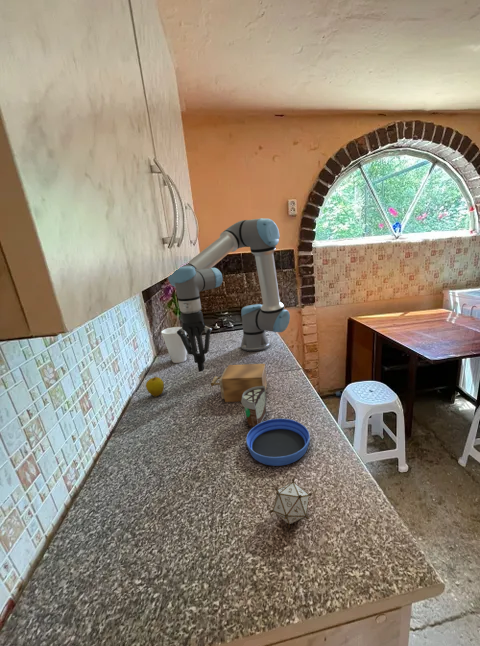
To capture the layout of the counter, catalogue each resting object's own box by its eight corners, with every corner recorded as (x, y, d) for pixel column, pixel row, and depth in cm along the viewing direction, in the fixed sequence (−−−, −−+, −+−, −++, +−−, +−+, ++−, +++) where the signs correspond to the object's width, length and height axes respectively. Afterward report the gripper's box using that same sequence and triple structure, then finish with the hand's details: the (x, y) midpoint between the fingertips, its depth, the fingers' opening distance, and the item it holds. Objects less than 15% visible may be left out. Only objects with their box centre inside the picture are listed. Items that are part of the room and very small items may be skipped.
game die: (301, 531, 67) (323, 520, 61) (264, 532, 64) (283, 520, 57) (297, 488, 73) (316, 474, 66) (263, 487, 70) (280, 471, 63)
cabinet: (224, 402, 115) (221, 378, 112) (231, 386, 127) (228, 365, 123) (263, 400, 114) (262, 377, 111) (266, 385, 126) (265, 363, 123)
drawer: (210, 399, 115) (207, 380, 113) (217, 385, 126) (214, 368, 123) (257, 398, 115) (256, 379, 112) (260, 384, 125) (259, 366, 123)
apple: (165, 389, 127) (161, 372, 124) (166, 396, 121) (162, 378, 118) (148, 393, 124) (144, 375, 122) (148, 400, 119) (144, 381, 116)
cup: (190, 362, 153) (185, 332, 148) (165, 366, 151) (159, 334, 145) (192, 354, 164) (187, 325, 158) (168, 357, 162) (162, 328, 156)
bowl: (234, 450, 89) (232, 439, 87) (277, 421, 101) (276, 412, 100) (280, 478, 77) (280, 467, 76) (322, 442, 90) (322, 432, 89)
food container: (250, 409, 109) (247, 384, 105) (267, 410, 108) (265, 385, 104) (238, 430, 98) (234, 402, 94) (256, 431, 96) (254, 403, 93)
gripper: (169, 314, 109) (181, 375, 117) (206, 312, 108) (216, 373, 117) (176, 309, 116) (188, 366, 124) (211, 307, 115) (220, 365, 124)
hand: (201, 369), depth 121 cm, fingers closed
